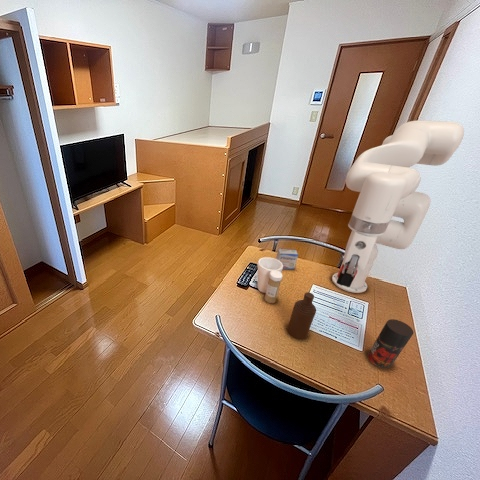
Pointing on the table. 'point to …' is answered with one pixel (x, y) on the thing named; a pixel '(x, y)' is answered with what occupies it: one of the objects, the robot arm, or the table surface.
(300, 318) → the sauce bottle
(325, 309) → the table surface
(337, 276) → the cap
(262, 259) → the foam cup
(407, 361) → the table surface
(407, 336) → the deodorant
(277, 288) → the sprinkles bottle
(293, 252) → the medicine box
